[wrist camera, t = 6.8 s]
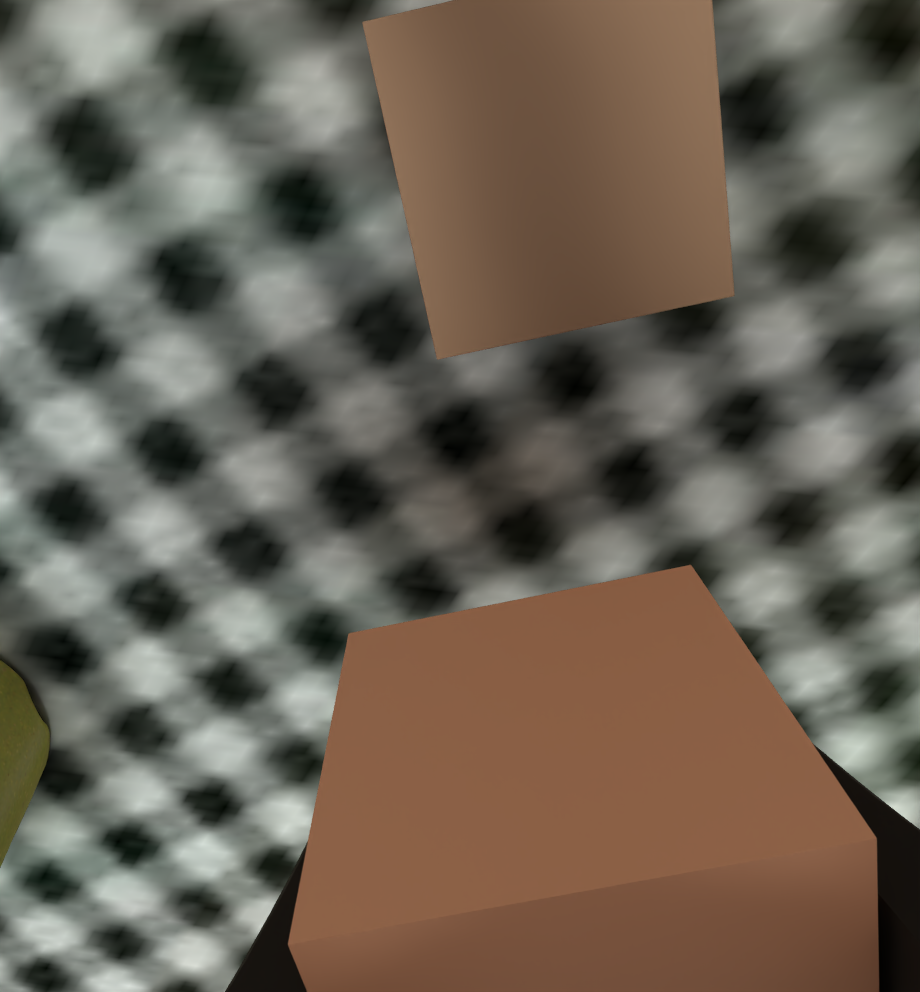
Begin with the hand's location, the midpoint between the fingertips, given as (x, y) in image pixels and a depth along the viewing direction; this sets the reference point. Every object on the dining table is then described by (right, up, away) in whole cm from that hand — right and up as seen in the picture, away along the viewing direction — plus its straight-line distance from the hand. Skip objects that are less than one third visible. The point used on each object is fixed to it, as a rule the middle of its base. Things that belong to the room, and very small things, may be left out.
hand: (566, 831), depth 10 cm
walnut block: (0, +11, +6) cm, 13 cm away
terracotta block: (0, +1, +2) cm, 2 cm away
